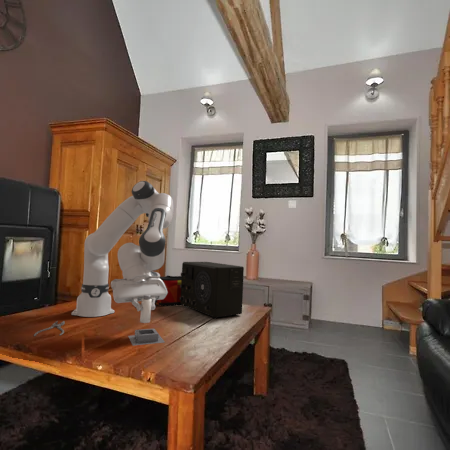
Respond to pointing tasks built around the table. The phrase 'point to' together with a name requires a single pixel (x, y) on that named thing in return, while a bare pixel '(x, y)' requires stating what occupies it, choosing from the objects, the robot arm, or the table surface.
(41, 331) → the pliers
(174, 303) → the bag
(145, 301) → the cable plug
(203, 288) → the vintage radio
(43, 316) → the table surface
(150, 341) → the socket block
